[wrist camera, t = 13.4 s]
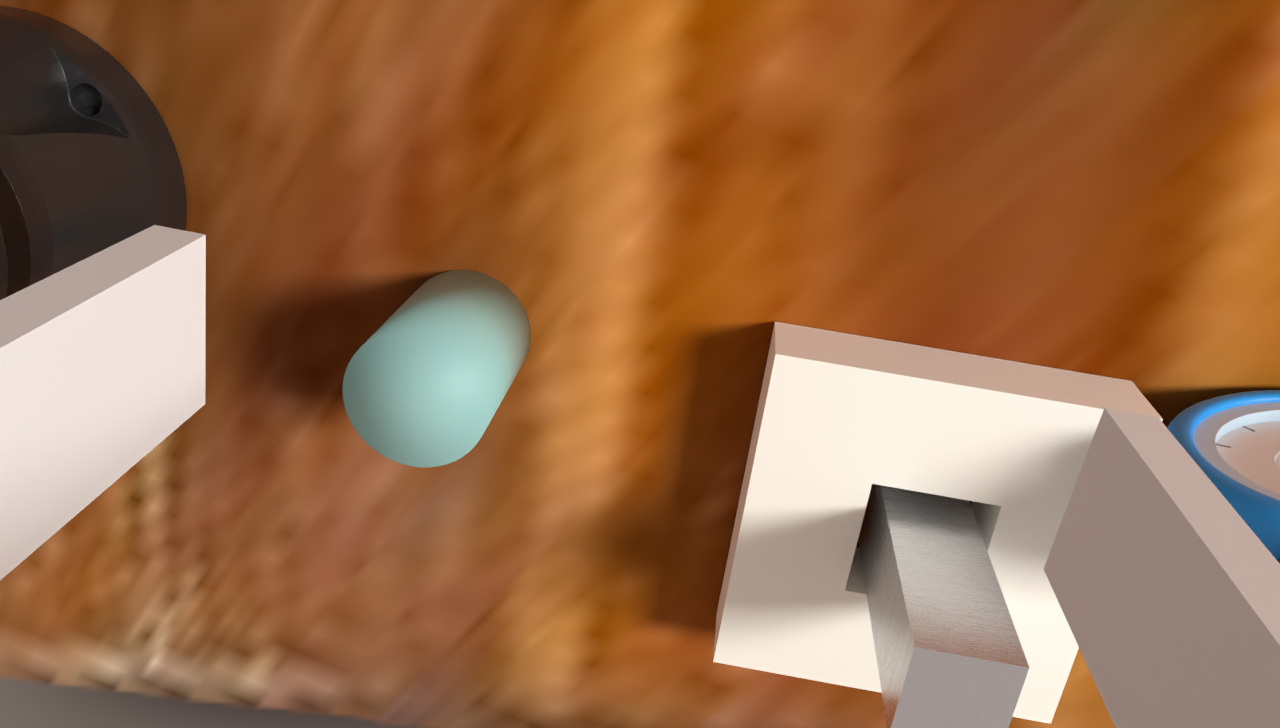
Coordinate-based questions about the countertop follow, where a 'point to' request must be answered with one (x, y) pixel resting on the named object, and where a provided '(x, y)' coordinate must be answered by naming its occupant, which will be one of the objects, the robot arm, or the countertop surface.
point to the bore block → (906, 459)
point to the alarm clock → (1239, 454)
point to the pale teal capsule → (437, 369)
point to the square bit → (937, 614)
